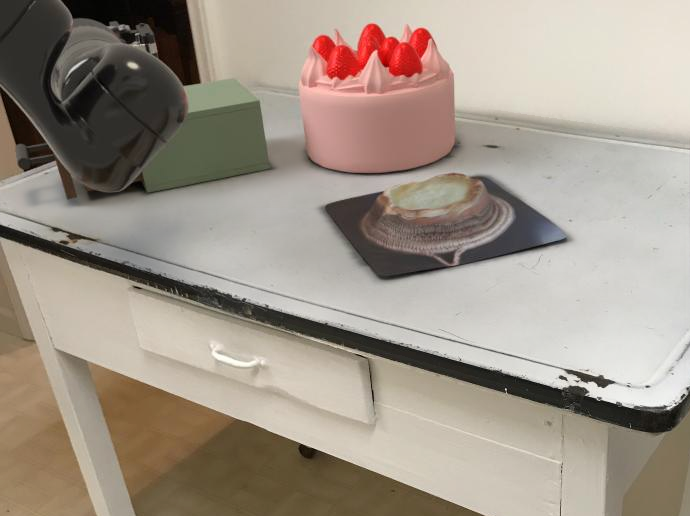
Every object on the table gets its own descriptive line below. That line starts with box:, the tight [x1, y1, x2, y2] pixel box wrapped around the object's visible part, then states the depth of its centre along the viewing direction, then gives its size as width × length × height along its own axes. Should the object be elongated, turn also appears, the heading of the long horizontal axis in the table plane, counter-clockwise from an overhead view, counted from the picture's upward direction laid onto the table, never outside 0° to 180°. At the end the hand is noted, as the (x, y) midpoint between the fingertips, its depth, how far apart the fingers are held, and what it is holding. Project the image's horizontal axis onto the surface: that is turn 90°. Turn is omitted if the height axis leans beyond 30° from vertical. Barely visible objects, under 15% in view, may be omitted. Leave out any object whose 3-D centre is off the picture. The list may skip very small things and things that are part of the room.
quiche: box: [324, 172, 568, 277], centre depth 91 cm, size 21×20×4 cm
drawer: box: [14, 142, 144, 200], centre depth 106 cm, size 19×11×7 cm, turn 113°
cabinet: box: [140, 77, 270, 194], centre depth 109 cm, size 16×13×9 cm
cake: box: [298, 22, 456, 174], centre depth 109 cm, size 20×20×14 cm
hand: (72, 38), depth 88 cm, fingers open, 8 cm apart
